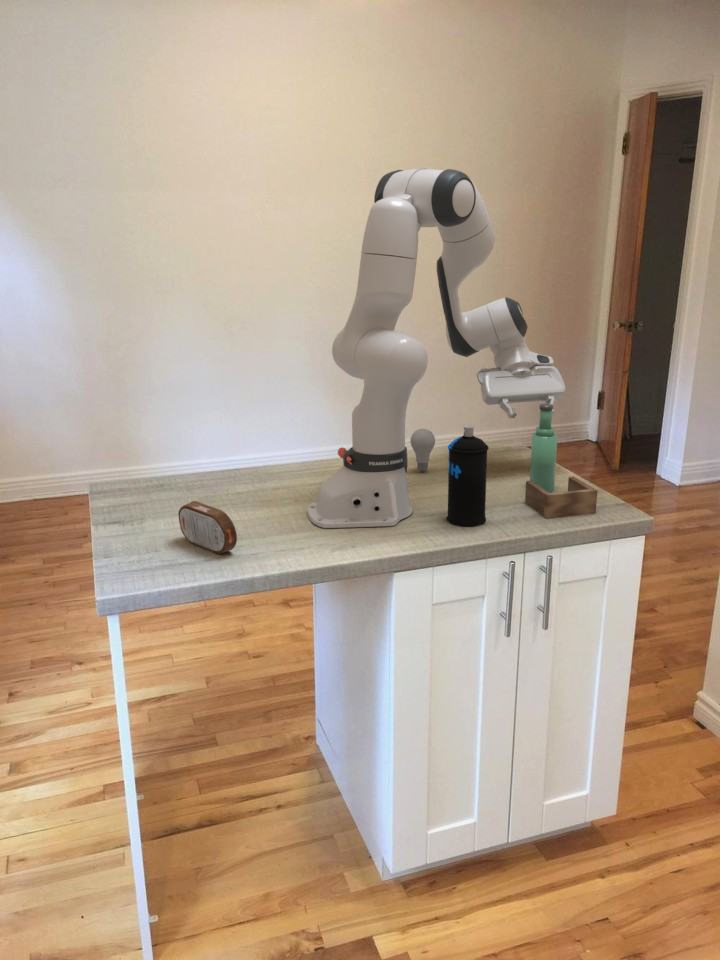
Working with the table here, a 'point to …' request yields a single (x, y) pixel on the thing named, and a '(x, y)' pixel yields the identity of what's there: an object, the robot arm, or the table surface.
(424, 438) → the lightbulb
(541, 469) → the bottle
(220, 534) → the tin
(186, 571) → the table surface
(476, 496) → the aerosol can
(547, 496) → the u rest
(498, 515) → the table surface
